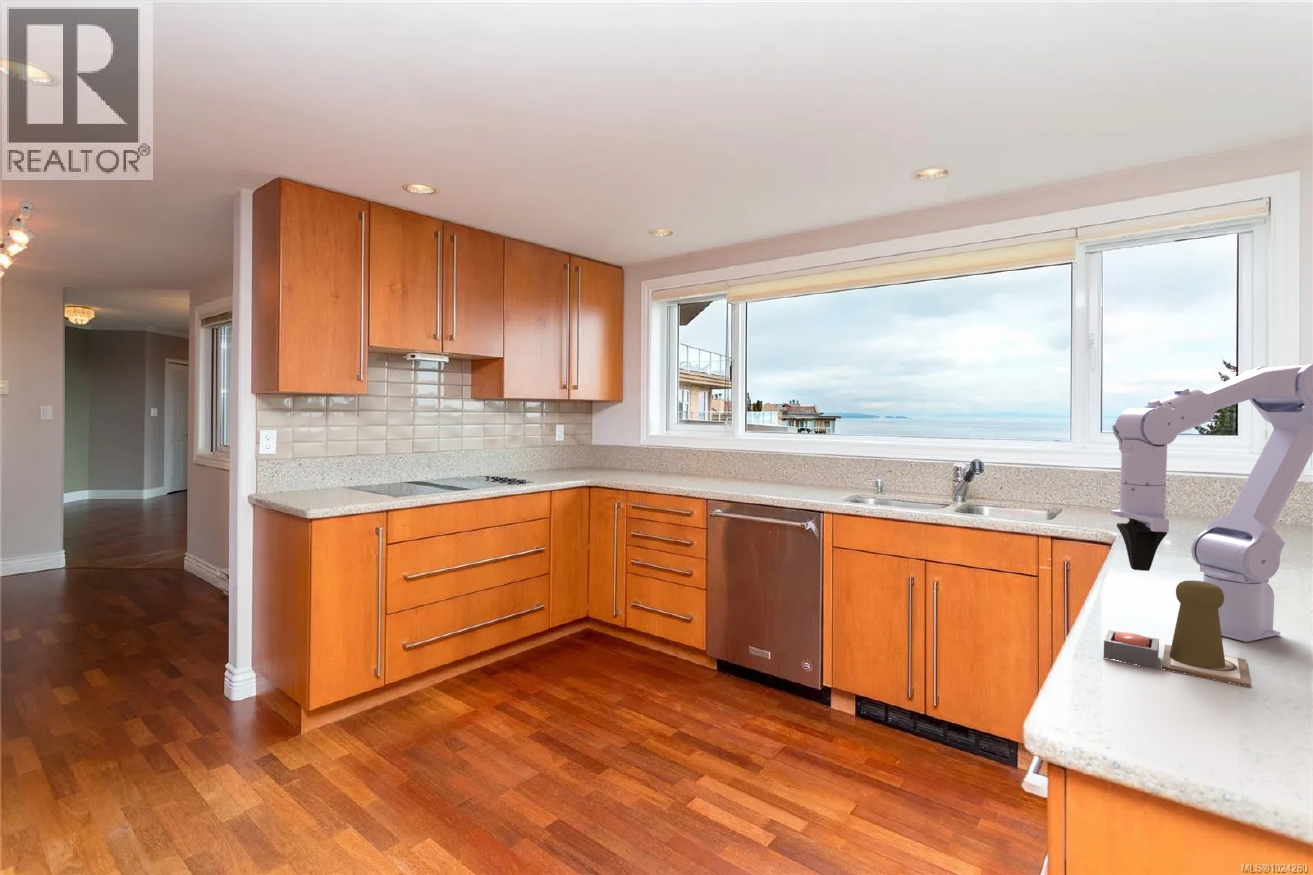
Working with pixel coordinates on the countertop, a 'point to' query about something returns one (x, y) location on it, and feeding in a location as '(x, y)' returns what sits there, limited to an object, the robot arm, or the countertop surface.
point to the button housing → (1131, 651)
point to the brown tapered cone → (1198, 625)
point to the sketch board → (1230, 673)
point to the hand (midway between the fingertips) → (1140, 569)
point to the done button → (1132, 639)
